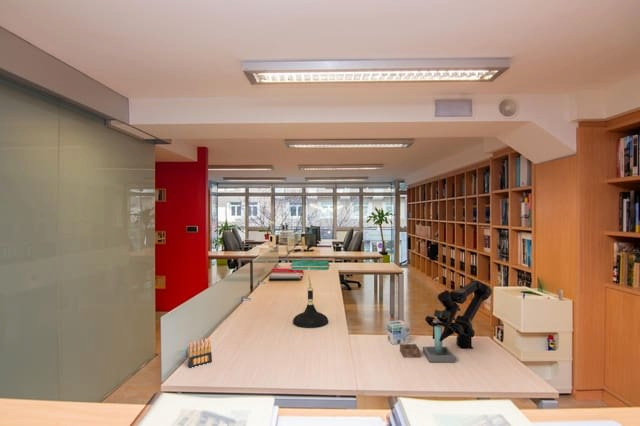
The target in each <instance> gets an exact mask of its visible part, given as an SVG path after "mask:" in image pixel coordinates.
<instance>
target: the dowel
mask: <svg viewBox="0 0 640 426" xmlns="http://www.w3.org/2000/svg"><path fill="white" fill-rule="evenodd" d="M434 329H435V339H434V347H435V354H436V355H442V347H443V341H440V337H441V335H442V333H443V326H435V327H434Z"/></svg>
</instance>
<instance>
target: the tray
mask: <svg viewBox="0 0 640 426" xmlns="http://www.w3.org/2000/svg"><path fill="white" fill-rule="evenodd" d="M422 354H423V355H424V357H425V358H426V359H427V361H428V362H429V363H430V364H432V363H435V364H439V363H441V364H452V363H453V364H454V363H456V356H455V354H454V353H453V352H452V351H451V350H450V348H449V347H448V346H442V355H436V354H435V346H422Z"/></svg>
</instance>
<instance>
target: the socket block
mask: <svg viewBox="0 0 640 426" xmlns="http://www.w3.org/2000/svg"><path fill="white" fill-rule="evenodd" d="M399 352H400V354H401V356H402V357H403V358H421V351H420V348H419V347H418V345H417V344H416V343H403V344H399Z"/></svg>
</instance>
